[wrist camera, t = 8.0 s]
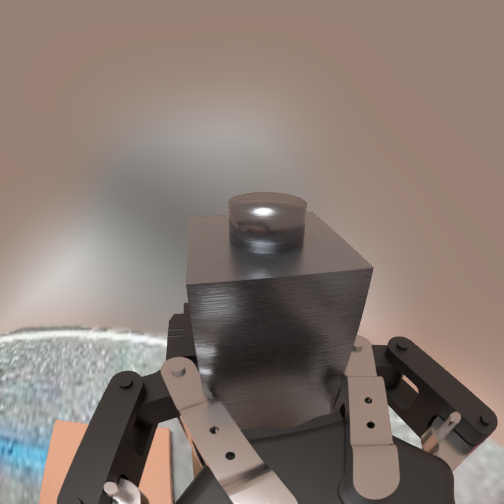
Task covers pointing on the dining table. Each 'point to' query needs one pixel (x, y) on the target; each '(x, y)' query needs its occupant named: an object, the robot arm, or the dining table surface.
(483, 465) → the dining table surface
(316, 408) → the grey square grinder
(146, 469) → the coaster
